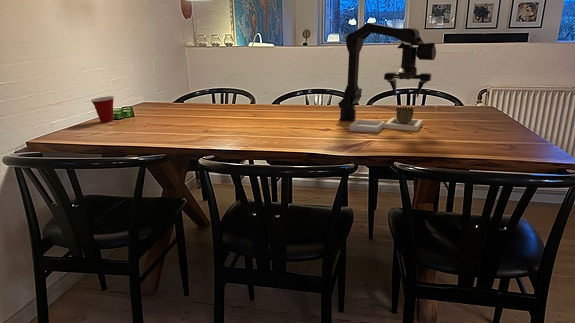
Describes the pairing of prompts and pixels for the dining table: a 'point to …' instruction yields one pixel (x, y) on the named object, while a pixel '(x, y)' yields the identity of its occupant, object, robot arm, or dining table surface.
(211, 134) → the dining table surface
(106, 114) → the plastic cup
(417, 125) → the white flat square frame
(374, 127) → the grey tray
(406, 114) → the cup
